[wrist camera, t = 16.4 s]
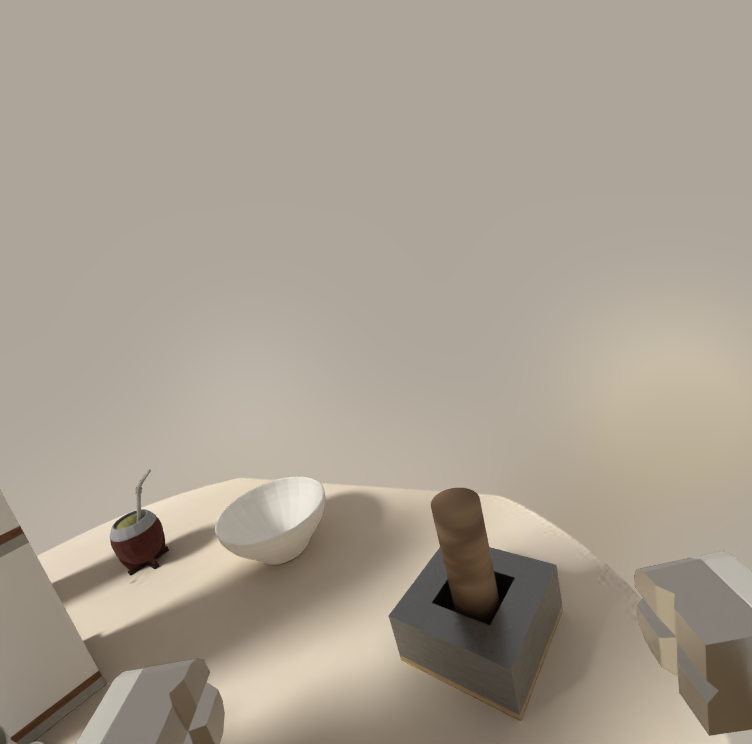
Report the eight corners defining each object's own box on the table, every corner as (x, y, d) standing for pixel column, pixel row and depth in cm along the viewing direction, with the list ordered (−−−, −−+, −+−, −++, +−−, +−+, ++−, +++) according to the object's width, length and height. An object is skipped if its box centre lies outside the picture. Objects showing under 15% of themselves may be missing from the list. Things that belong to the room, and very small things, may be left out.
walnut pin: (452, 639, 44) (421, 511, 40) (471, 606, 47) (445, 484, 43) (494, 657, 41) (466, 521, 37) (512, 620, 44) (487, 492, 40)
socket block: (401, 660, 44) (388, 615, 42) (457, 575, 52) (448, 536, 51) (520, 720, 36) (510, 669, 34) (562, 609, 45) (556, 565, 43)
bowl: (344, 506, 72) (333, 469, 70) (324, 581, 57) (309, 535, 55) (254, 520, 74) (240, 484, 72) (211, 595, 59) (193, 552, 57)
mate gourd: (119, 569, 70) (79, 487, 66) (166, 538, 75) (133, 461, 71) (136, 585, 65) (94, 498, 61) (186, 551, 70) (151, 469, 66)
